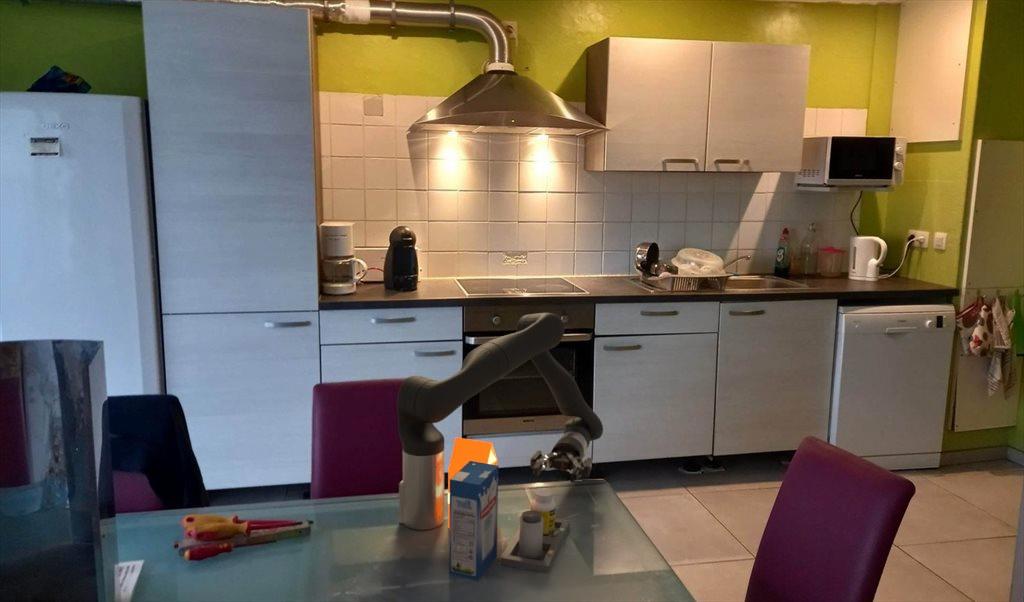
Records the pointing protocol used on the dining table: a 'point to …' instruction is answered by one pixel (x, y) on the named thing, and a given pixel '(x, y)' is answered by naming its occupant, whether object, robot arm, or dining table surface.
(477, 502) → the milk carton
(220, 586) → the dining table surface
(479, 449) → the orange juice
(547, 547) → the two-slot grey tray
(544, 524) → the supplement bottle
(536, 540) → the seated grey plug
